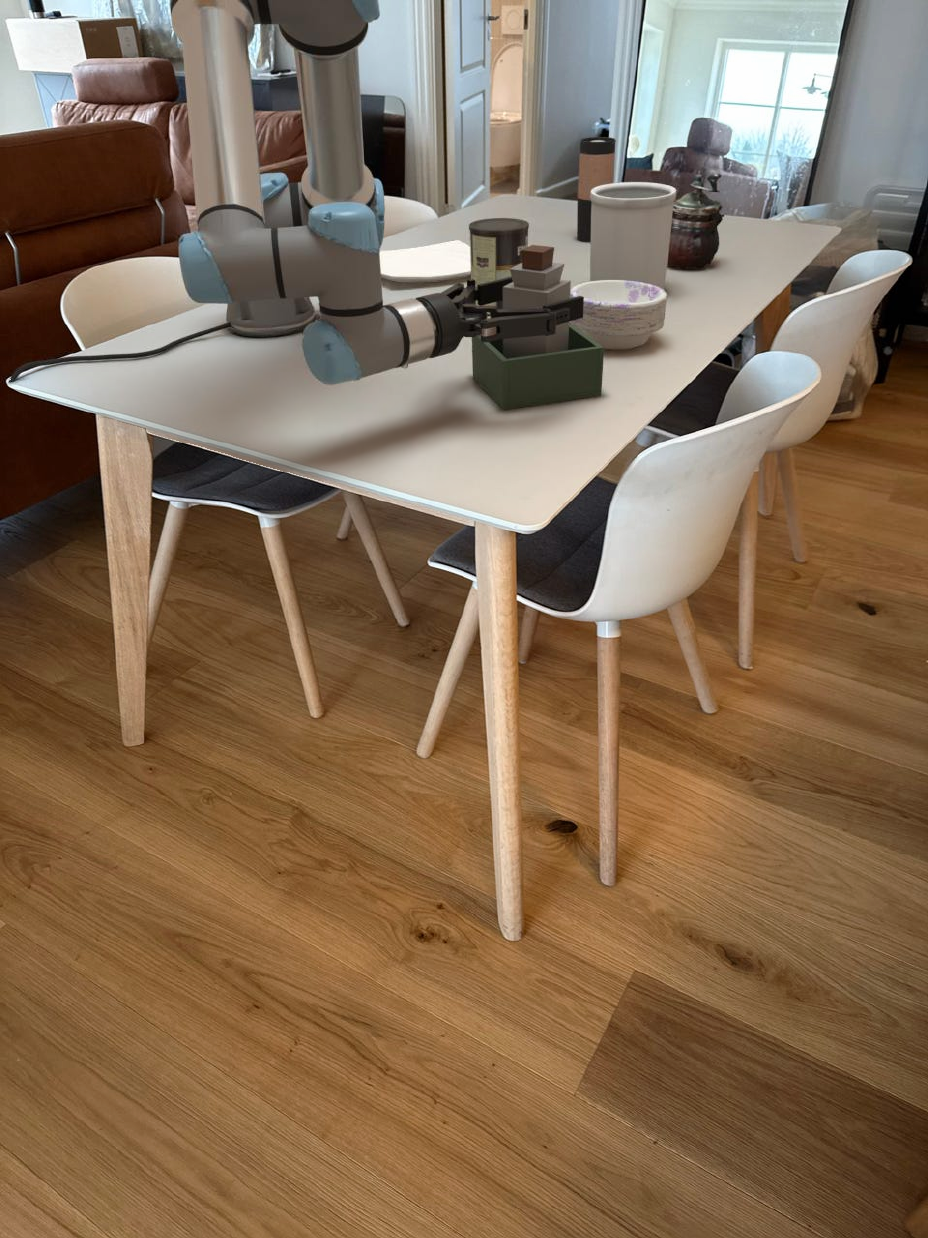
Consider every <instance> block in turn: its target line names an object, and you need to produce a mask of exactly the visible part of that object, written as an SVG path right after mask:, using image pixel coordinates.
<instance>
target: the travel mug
mask: <svg viewBox="0 0 928 1238" xmlns="http://www.w3.org/2000/svg"><path fill="white" fill-rule="evenodd" d="M616 142H617V140H616V139H615V138H614V137H607V136H593V137H583V138H581V139H580V143H579V160H578V180H577V181H578V182H577V213H576V214H577V217H576V218H577V223H576V224H577V227H576V234H577V235H576V237H577V238H576V239H577V240H578V241H580V242H584V243H591V207H592V202H591V199H590V192H591V190H592V189H593V188H595V187H597V186H601V185H606V184H612V183H614V180H615V179H614V178H615V176H614V175H615V160H616Z"/></svg>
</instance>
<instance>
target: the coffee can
mask: <svg viewBox="0 0 928 1238" xmlns="http://www.w3.org/2000/svg"><path fill="white" fill-rule="evenodd" d="M529 228H530V223H529V222H528V221H527V220H524V219H521V218H513V217H493V218H484V219H479V220H474V221H472V222H470V223H468V230H469V246H470V263H471V275H470V279H474V280H475V287H477V285H479V284H483V283H487V282H491V281H495V280H500V279H504V278H508V277H512V276H511V272H510V268H513V267H515V266H517V265H519V264H521V263H522V258H521V250H522V249H524V248H527V247H529ZM475 305H477V306H480V305H478V300H477V301H476V304H475ZM492 305H493V306H496V308H497V309H503V300H502V301H498V302H494V303H490V304H486V305H482V306H492ZM487 316H491V314H490V313H489V312H487Z"/></svg>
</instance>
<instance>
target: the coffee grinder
mask: <svg viewBox="0 0 928 1238" xmlns="http://www.w3.org/2000/svg"><path fill="white" fill-rule="evenodd" d="M720 178H722V174H720V173H711V174H710V175H708V176H707V178H706V180H707V181H708V182H709V184H710V186H711V188H708V187H704V186H703V182H702V181H703V176H702V174H695V175H694V181H693V182H692V183H690V186H691V187H693V190H692V191H690V192H688V193H686V194H683V196H681V198H678V199H676V198H675V200H674V202H673V212H672V222H671V233H670V242H669V252H668V262H667V267H676V268H679V269H682V270H686V269H700V270H702V269H705V267H706V266H708V265H711V263H712V261H713V260H714V258H715V256H716V254H717V253H718V251H719V249H720V248H719V247H720V234H719V229H718V226H719V225H720V224H721V223H722V221H723V220H724V219H723V218H725V213H722V214H721V213H720V211H721V210H722V209H723V205H722V204H721V203H722V202H720V201H719V200H717V199H712V198H709V197H708V196H707V194H705V193H704V192H703V191H704V190H705V191H707V192H708V193H721V191H720V190H718V181H719V180H720Z"/></svg>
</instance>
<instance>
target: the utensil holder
mask: <svg viewBox="0 0 928 1238" xmlns="http://www.w3.org/2000/svg"><path fill="white" fill-rule="evenodd" d="M676 197H677V189H676V188H675V187H674V186H671V185H668V184H664V183H657V182H649V181H648V182H647V181H628V182H626V181H623V182H613V183H612V184H606V185H601V186H597V187H595V188H593V189H592V190H591V192H590V199H591V202H592V207H591V242H590V247H589V248H590V250H589V251H590V252H589V282H591V281H600V280H625V281H635V282H642V283H647V284H651V285H654V286H657V287H659V288H661V289H663V290H664V291H665V287H666V278H667V270H668V266H667V262H668V252H669V242H670V233H671V222H672V212H673V202H674V200H676Z"/></svg>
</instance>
